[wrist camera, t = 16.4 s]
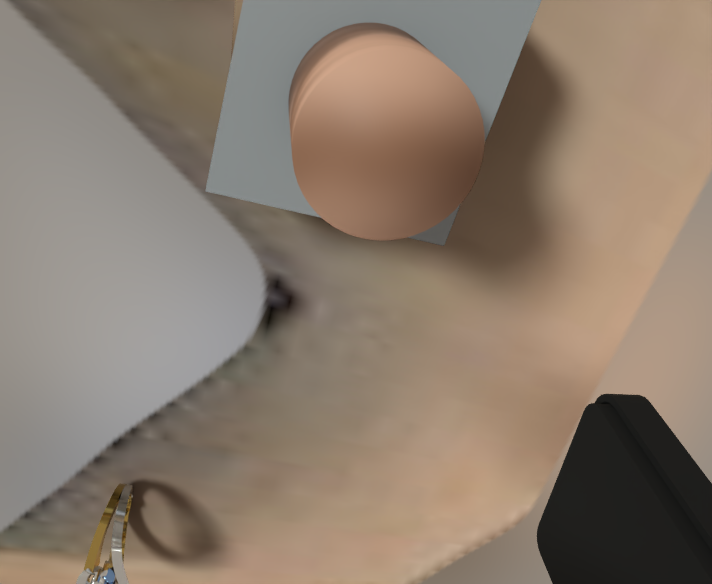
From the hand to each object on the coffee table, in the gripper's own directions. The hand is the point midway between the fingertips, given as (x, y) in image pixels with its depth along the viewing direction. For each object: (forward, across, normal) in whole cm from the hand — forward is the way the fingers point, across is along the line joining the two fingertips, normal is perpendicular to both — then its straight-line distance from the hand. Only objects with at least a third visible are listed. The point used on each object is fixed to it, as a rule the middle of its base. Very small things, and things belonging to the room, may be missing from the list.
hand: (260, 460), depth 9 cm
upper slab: (+24, -4, 0) cm, 24 cm away
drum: (+20, -4, 0) cm, 20 cm away
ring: (+27, +8, +30) cm, 42 cm away
